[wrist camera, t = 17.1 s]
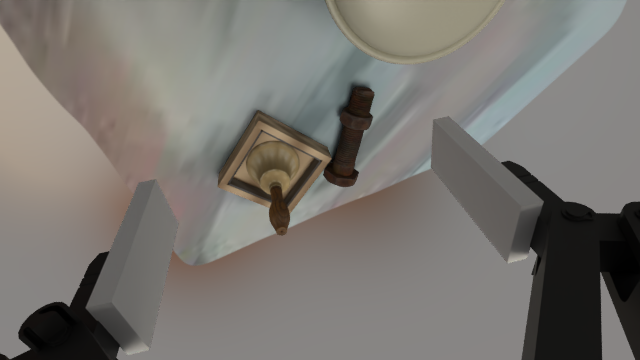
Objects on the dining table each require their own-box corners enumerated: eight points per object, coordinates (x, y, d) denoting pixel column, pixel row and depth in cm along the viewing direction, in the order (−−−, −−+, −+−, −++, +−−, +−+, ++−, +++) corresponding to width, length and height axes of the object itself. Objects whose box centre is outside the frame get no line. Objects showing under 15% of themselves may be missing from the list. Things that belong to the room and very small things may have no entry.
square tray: (218, 174, 56) (217, 186, 53) (257, 110, 51) (258, 120, 49) (286, 202, 62) (288, 215, 59) (327, 147, 57) (331, 158, 54)
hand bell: (238, 149, 53) (235, 218, 40) (291, 134, 53) (306, 197, 40) (256, 191, 58) (259, 265, 45) (305, 177, 58) (322, 246, 45)
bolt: (362, 81, 54) (338, 167, 61) (338, 82, 51) (316, 172, 58) (390, 95, 50) (362, 184, 58) (367, 97, 47) (340, 191, 55)
